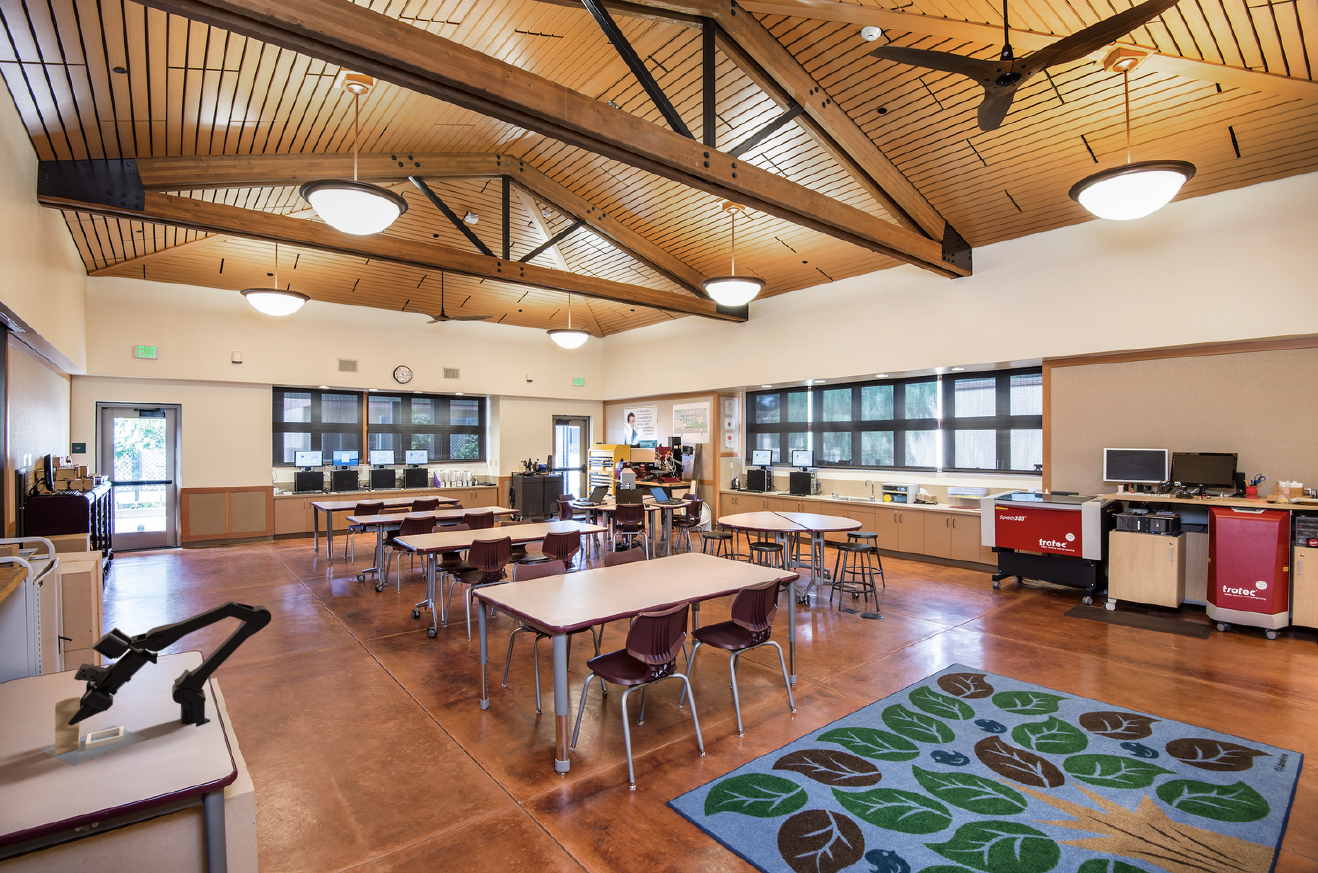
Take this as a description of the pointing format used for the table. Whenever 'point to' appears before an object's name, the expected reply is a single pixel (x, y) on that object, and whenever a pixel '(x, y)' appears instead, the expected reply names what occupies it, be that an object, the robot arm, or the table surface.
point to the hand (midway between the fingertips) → (71, 718)
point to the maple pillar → (66, 725)
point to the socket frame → (104, 741)
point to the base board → (85, 755)
